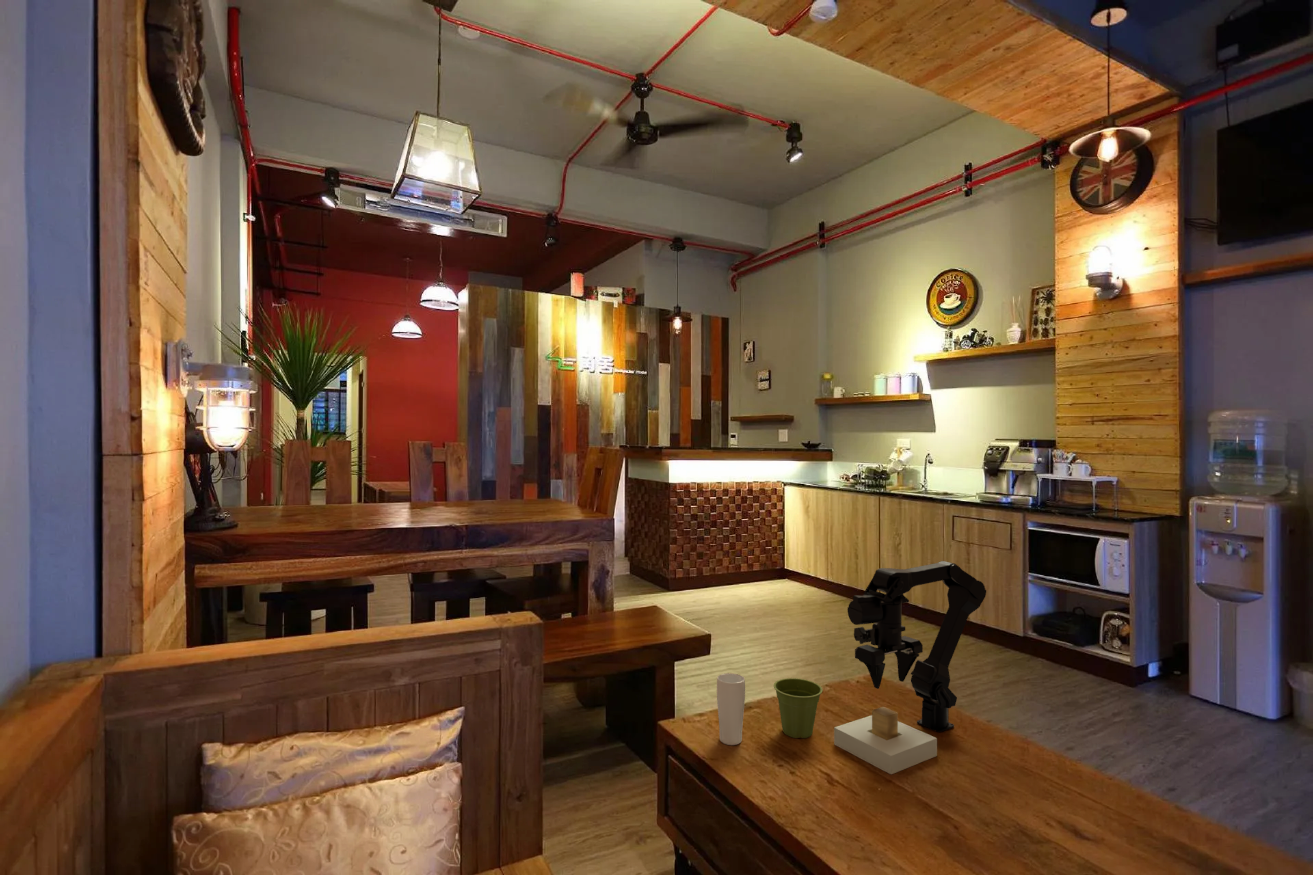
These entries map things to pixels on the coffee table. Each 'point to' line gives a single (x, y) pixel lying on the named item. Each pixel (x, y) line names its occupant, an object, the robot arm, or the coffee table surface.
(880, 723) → the peg
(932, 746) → the socket block
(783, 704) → the plant pot
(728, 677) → the drinking glass
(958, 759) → the coffee table surface
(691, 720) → the coffee table surface
